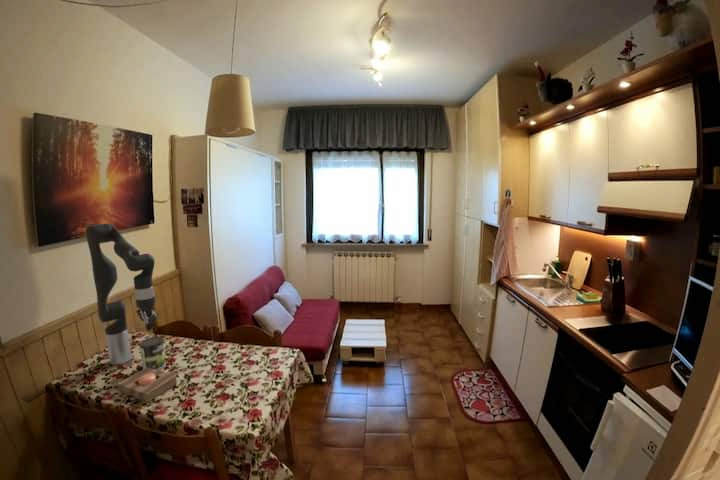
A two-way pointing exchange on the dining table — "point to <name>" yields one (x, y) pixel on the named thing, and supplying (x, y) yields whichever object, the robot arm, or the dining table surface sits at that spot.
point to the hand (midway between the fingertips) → (149, 329)
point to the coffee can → (152, 353)
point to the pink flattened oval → (146, 379)
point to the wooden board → (149, 391)
